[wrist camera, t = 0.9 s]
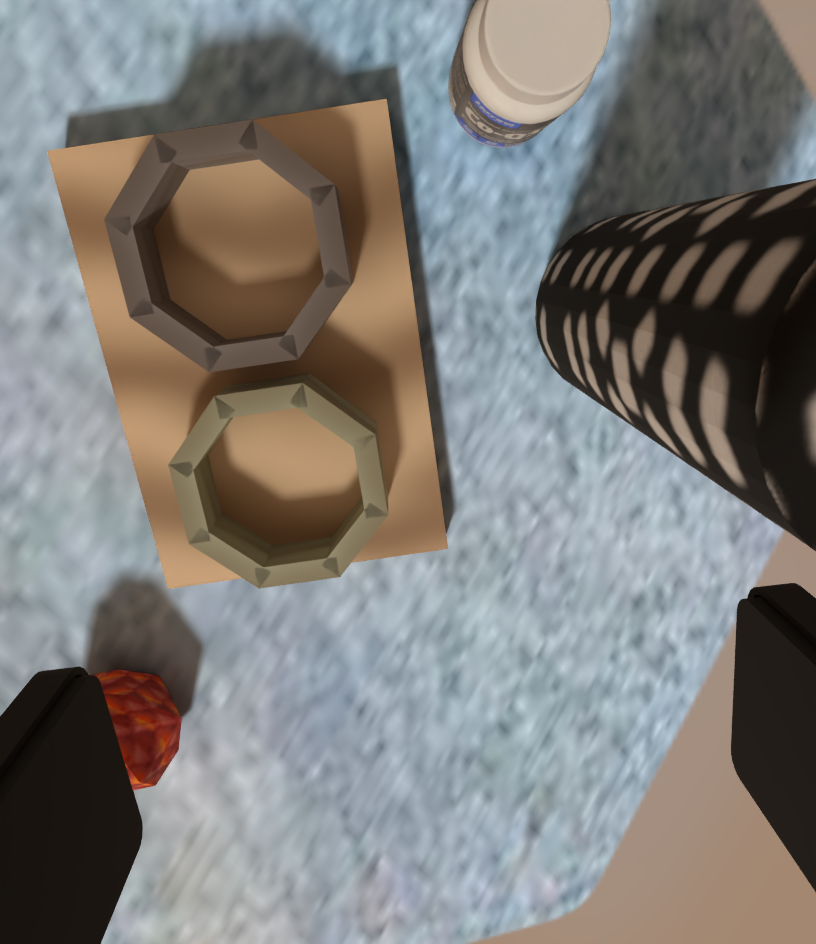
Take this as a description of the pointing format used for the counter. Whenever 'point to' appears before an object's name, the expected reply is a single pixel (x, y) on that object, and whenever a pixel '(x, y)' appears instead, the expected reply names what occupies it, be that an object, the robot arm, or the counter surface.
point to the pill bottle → (524, 65)
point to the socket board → (261, 341)
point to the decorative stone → (142, 723)
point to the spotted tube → (702, 337)
